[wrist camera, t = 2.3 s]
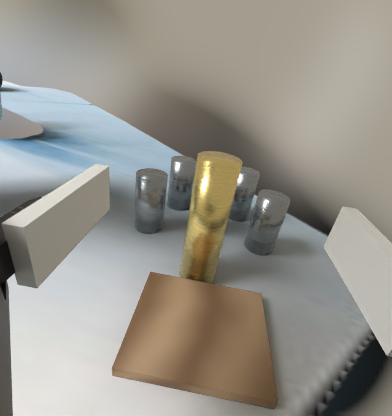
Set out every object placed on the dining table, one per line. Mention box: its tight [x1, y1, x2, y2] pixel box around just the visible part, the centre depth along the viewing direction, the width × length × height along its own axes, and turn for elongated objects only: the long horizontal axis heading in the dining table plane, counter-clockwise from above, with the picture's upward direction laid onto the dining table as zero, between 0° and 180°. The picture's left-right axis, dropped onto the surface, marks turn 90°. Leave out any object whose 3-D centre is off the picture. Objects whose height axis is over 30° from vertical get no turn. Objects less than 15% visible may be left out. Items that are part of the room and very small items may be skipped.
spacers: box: [135, 156, 291, 255], centre depth 37 cm, size 20×12×8 cm, turn 83°
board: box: [112, 272, 278, 409], centre depth 22 cm, size 12×10×1 cm
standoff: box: [180, 151, 242, 284], centre depth 25 cm, size 4×4×14 cm
